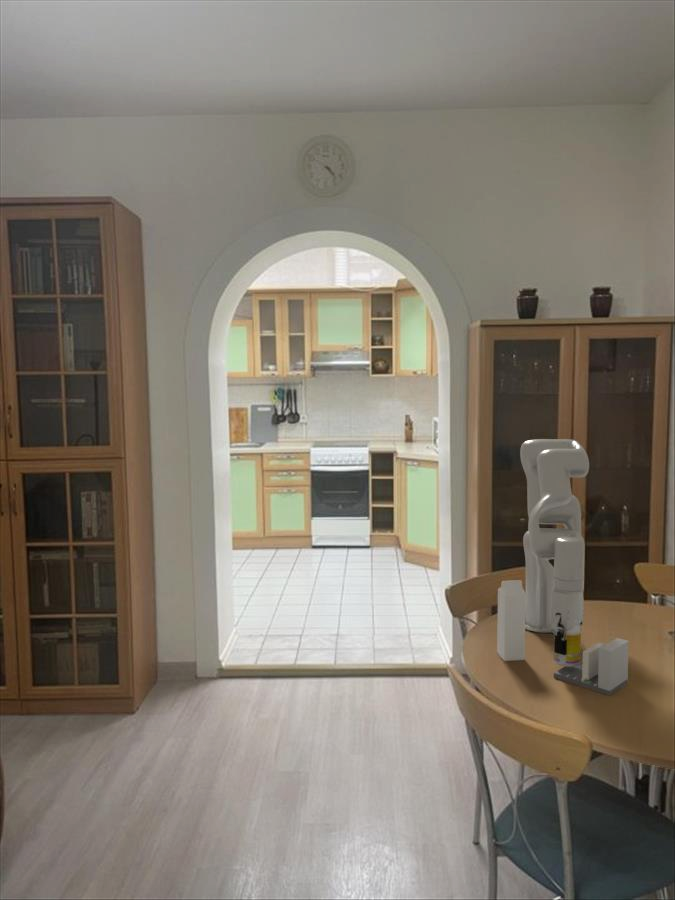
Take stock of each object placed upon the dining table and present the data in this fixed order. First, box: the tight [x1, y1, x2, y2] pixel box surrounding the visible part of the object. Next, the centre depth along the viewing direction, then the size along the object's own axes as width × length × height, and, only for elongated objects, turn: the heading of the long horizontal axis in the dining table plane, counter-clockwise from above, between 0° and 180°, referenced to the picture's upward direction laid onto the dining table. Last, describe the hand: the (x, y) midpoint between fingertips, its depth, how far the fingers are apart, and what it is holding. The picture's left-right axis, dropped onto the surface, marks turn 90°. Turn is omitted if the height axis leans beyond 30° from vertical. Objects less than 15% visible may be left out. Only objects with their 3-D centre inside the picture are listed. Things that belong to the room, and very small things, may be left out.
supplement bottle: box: [553, 620, 582, 667], centre depth 177 cm, size 7×7×13 cm
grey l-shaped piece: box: [553, 637, 630, 697], centre depth 172 cm, size 15×10×11 cm, turn 43°
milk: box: [496, 579, 526, 662], centre depth 188 cm, size 6×6×22 cm
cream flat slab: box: [581, 641, 606, 681], centre depth 171 cm, size 2×10×7 cm, turn 133°
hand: (567, 649), depth 177 cm, fingers closed on supplement bottle, 6 cm apart
